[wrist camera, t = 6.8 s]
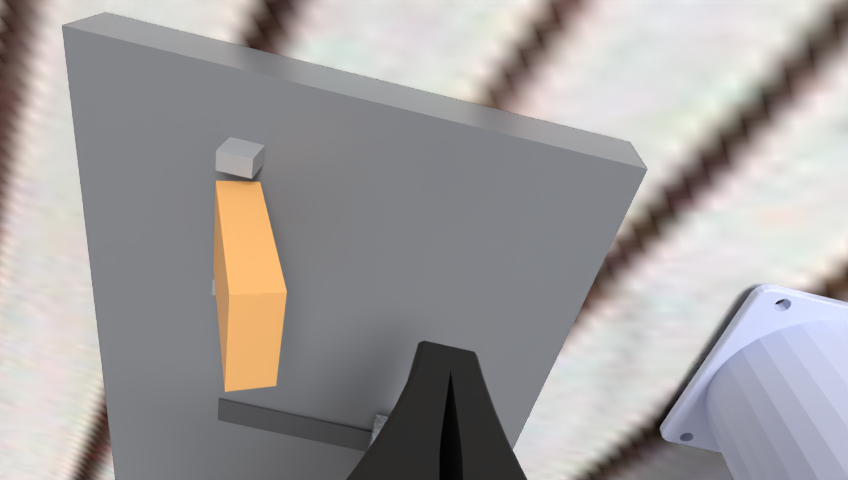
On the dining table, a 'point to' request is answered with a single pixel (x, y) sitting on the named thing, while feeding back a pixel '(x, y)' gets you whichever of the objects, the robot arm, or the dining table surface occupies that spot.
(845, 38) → the dining table surface
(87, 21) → the control panel
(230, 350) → the orange toggle
